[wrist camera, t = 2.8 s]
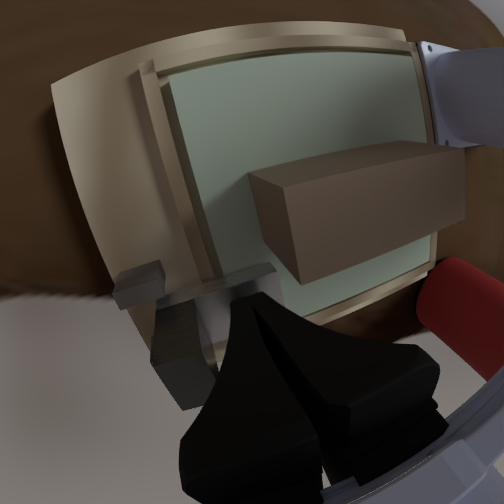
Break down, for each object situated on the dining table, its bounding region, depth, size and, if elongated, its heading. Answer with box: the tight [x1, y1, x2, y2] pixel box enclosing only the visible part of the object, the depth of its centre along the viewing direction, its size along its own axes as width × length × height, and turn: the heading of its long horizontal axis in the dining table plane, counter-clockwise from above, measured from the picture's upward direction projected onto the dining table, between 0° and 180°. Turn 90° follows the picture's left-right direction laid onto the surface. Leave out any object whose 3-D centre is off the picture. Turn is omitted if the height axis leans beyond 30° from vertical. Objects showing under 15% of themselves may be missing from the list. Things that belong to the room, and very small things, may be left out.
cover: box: [168, 52, 466, 317], centre depth 11 cm, size 12×12×5 cm
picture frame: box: [51, 21, 437, 366], centre depth 13 cm, size 18×16×4 cm
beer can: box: [416, 257, 504, 382], centre depth 16 cm, size 7×7×12 cm
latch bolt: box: [153, 261, 285, 411], centre depth 10 cm, size 5×2×4 cm, turn 103°
